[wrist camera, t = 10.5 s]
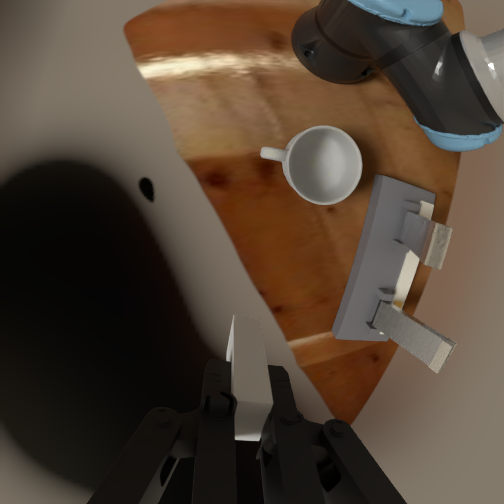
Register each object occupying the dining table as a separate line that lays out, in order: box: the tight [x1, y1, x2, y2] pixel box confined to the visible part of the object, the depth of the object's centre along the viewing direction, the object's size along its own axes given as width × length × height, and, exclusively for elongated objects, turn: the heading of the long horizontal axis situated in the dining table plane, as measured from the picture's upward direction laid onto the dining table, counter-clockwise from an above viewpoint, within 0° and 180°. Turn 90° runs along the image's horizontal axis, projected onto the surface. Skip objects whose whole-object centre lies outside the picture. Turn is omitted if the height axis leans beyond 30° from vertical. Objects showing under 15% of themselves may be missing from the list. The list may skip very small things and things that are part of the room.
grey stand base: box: [331, 174, 436, 341], centre depth 46 cm, size 30×12×6 cm, turn 169°
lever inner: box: [399, 211, 453, 269], centre depth 35 cm, size 5×2×17 cm, turn 169°
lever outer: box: [371, 299, 457, 373], centre depth 40 cm, size 5×2×17 cm, turn 169°
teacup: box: [261, 125, 362, 205], centre depth 39 cm, size 14×11×8 cm
